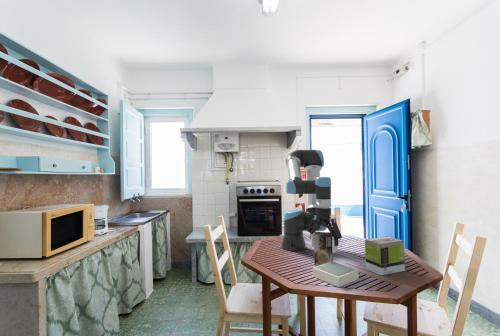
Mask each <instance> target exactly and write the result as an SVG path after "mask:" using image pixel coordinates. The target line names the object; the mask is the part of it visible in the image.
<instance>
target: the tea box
mask: <svg viewBox="0 0 500 336" xmlns="http://www.w3.org/2000/svg"><path fill="white" fill-rule="evenodd" d="M364 246H365V247H364V248H365V249H364V252H365V269H366V270H368V271H370V272H371V273H372V272H373V273H375V274H377V275H379V276H386V275H390V274H396V273H400V272H405V271H406V260H405V258H406V257H405V256H406V255H405V240H402V239H398V238H395V237H391V236H381V237H373V238H367V239H366V238H365V239H364Z"/></svg>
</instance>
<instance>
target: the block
mask: <svg viewBox="0 0 500 336" xmlns="http://www.w3.org/2000/svg"><path fill="white" fill-rule="evenodd" d="M359 276H360V275H359V270H358V269H356V268H353V267H352V266H347V265H344V264H341V263H339V262H336V261H334V260H333V261H332V262H329V263H326V264H323V265H319V266H314V267H312V278H315V279H319V280H321V281H323V282H325V283H327V284H330V285H333V286H334V287H337V288H340V287H342V286H343V287H344V286H345V285H348V284H351V283H353V282H355V281H357V280H359Z"/></svg>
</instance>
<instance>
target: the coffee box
mask: <svg viewBox="0 0 500 336" xmlns="http://www.w3.org/2000/svg"><path fill="white" fill-rule="evenodd" d="M332 239H334V238H333V236H332V235H331V233H330V231H329V232H328V231H315V233H314V246H313V252H314V253H313V255H314V257H313V259H314V261H313V263H314V265H313V266H314V267H316V266H319V265H323V264H326V263H329V262H332V261H333V262H334V253H332Z"/></svg>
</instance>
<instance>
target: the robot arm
mask: <svg viewBox="0 0 500 336" xmlns="http://www.w3.org/2000/svg"><path fill="white" fill-rule="evenodd" d="M285 165H286V168H287V174H288V180H286V182H285V190H286V191H285V192H286V194H289V195H307V207H306V208H305V211H304V210H303V208H302V209H301V208H296V209H293V208H292V209H289V210H286V211H285V212H284V213H283V237H282V241H281V243H280V245H281V246H280V247H281V249H283V250H286V251H290V252H291V251H292V252H299V251H305V250H306V249H307V244H306V241H305V237H304V232H307V233H309V237H310V238H309V239H310V246H311V247H313V248H314V233H315V232H326V230H328V231H329V232H330V233H331V235H332V236H333V239H332V253H333V254H335V253H338V246H339V240H340V239H342V238H343V235H342V233H341V231H340V228H339V226H338V223H337V218H336V217H334V218H332V217H331V215H332V208H331V207H332V180H331V177H330V176H321V171H322V169H323V167H324V166H325V157H324V154H323V151H322V150H320V149H296V150H294V151H292V152H290V154H288V155H287V157H286V159H285ZM301 168H303V170H304V171H305V173H306V179H304V180H303V176H302V172H301Z"/></svg>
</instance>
